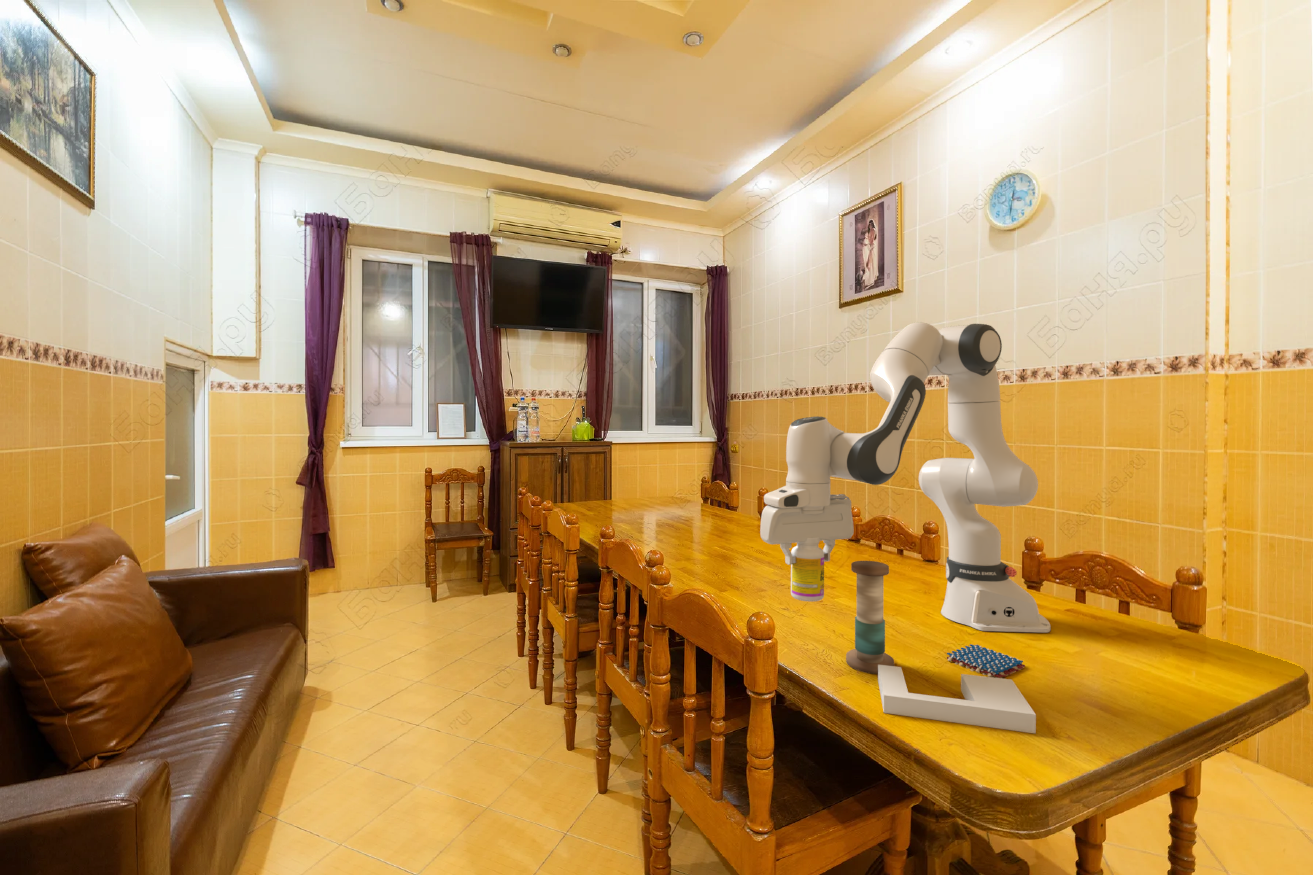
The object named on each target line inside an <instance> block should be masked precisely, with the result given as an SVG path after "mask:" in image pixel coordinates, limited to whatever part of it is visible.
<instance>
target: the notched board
mask: <svg viewBox="0 0 1313 875" xmlns="http://www.w3.org/2000/svg"><path fill="white" fill-rule="evenodd" d="M960 679H961V680H960V691H961V693H962V695H963V698H964V699H961V698H954V697H953V698H952V697H944V696H938V695H930V694H929V695H928V694H921V693H913V692H909V691H908V688H907V684H906V683H907V682H906V680H905V676H904V673H903V670H902V666H895V665H894V666H887V665H878V674H877V682H878V687H879V693H880V698H881V704H882V709H883V713H884V714H889V715H898V716H904V717H911V718H912V717H913V718H921V719H927V720H934V721H941V722H949V723H957V724H963V725H972V726H978V727H986V728H992V729H993V728H994V729H1000V730H1007V731H1008V730H1009V731H1013V732H1014V731H1016V732H1022V733H1028V734H1037V733H1036V730H1037V726H1036V724H1037V714H1036V713H1035V711H1034V709H1033V708H1032V707H1031V706H1030V704H1029V703H1028V701H1027V699H1026V698H1025V697H1024V695H1023V694H1022V693H1021V691H1020V689H1019V688H1018V686H1017V685H1016V683H1015V682H1014V681H1013V679H1010V678H1008V679H1007V678H996V677H988V676H985V675H982V676H981V675H976V674H975V675H973V674H966V673H960Z"/></svg>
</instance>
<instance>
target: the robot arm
mask: <svg viewBox="0 0 1313 875" xmlns="http://www.w3.org/2000/svg"><path fill="white" fill-rule="evenodd" d="M1002 347H1003V345H1002V339H1001V336H1000V334H999V333H998V331H997V330H996V329H995V328H994V327H993V326H992V325H989V324H987V323H986V324H985V323H969V324H967V325H965V324H964V325H959V324H958V325H951V326H945V327H942V328H936V327H935V326H933V325H932V324H930V323H927V322H922V321H920V322H919V321H916V322H912V323H909V324H908V325H906V326H905V327H904V328H903V327H902V329H901V330H900V331H898V333H897V334H896V335H895V336H894V337H892V339H891V340H890V341H889V342H888V343H887V345H886V346H885V348H884V349H883V350H882V351H881V353H880V354H879V355H878V357H877V358H876V360H875V362H874V363H873V365H872V367H871V370H870V372H869V382H870V384H871V386H872V389H873V390H874V391H875V392H876V393H877V395H878V396H879V397H881V399H883V400H884V401H885V402H888V405H887V408H886V410H885V412H884V414H883V415H882V418H881V420H880V421H879V424H878V426H877V427H876V428H874V429H872V430H870V431H867V432H864V433H863V432H862V433H858V432H857V433H855V432H853V433H852V432H845V431H844V430H841V429H839V428H837V427H836V426H834V425H833V424H831V423H830V422H829V421H828V418H826V417H824V416H810V417H802V418H798V419H796V420H794V421H793V422H791V424H790V425H789V427H788V431H787V435H786V436H787V437H786V447H785V450H786V451H785V455H786V456H785V461H786V464H787V465H786V466H787V474H786V478H785V485H784V486H782V487H778V489H775V490H772V491H770V492H767V493H765V494H764V495H763V502H764V504H765V505H766V506H764V507H763V510H762V512H761V516H760V518H761V519H760V528H759V529H760V531H759V533H760V538H761V540H762V541H763V542H765V543H767V544H768V545H780V546H779V547H780V549H781V550H782V553H783V554H784V558H785V559H784V561H785V564H787V565H789V566H791V564H796V561H795V560H796V556H795V555H792V554H791V550H790V549H791V548H792V544H797V542H806V541H807V538H815V537H818V538H819V541H820V542H822V541H823V543H824V547H823V549H822V550H823V552H824V563H825V562H830V561H831V552H832V551H833V549H834V548H835V545H836V540H844V539H845V540H847V539H848V540H849V539H851V538H852V536H853V535H854V531H855V530H854V519H853V513H852V500H851V498H850V497H848V496H847V495H846V494H844V493H839V494H832V493H831V477H832V478H839V479H840V478H841V479H842V480H843V479H844V480H850V481H857V482H861V483H865V484H869V485H873V486H879V485H882V484H885V483H887V482H888V481H889V480H890V479H892V477H894V475H895V474H896V472H897V470H898V468H899V466H900V461H901V459H902V454H903V450H904V447H905V444H906V443H907V440H908V437H909V436H910V433H911V431H912V429H913V427H914V426H915V425H914V424H915V423H916V420H917V418H918V416H919V414H920V412H921V410H922V407H923V405H924V401H925V399H926V394H927V393H926V391H927V390H926V386H925V381H926V380H927V378H928V376H947V377H948V386H947V429H948V432H949V435H950V436H951V437H952V438H953V439H954V441H956V442H959V443H960V444H962V445H964V446H967V448H969V450H970V451H971V452H972V454H973V457H974V458H964V457H963V458H962V457H961V458H960V457H941V458H936V459H929V460H927V461H926V462H925V463H924V464H923V465H922V466H921V468H920V470H919V473H918V485H919V487H920V489H921V491H922V492H923V494H924V495H925V496H926V497H927V498H929V499H930V501H932V502H933V503H934V504H935V506H936V507H937V508H938V509H939V510H940V512H941V514H942V516H943V519H944V521H945V526H946V530H947V538H948V540H947V541H948V556H947V557H946V563H945V578H946V580H947V584H946V590H945V596H944V599H943V605H942V607H941V611H940V614H941V615H942V616H943V617H944V618H946V619H948V620H950V621H952V622H956V623H959V624H962V625H966V626H968V627H972V628H973V629H976V630H979V631H982V632H1006V633H1007V632H1008V633H1009V632H1014V633H1042V634H1043V633H1050V632H1051V630H1052V629H1051V627H1052V626H1051V624H1050V622H1049V620H1048V619H1047V618H1046V617H1044V616H1043V615H1042V614H1040V613H1039V608H1038V605H1037V601H1036V600H1035V598H1034V597H1033V596H1032V595H1031V594H1030V593H1029V592H1027V590H1026V589H1024V588H1022V586H1020V585H1019V584H1018V583H1016V582H1015V581H1014V580H1012V579H1011V578H1015V577H1016V576H1017V575H1018V572H1017V570H1016V569H1015V568H1014V567H1013V566H1009V565H1008V564H1006V563H1004V562H1002V561H1001V556H1002V554H1001V550H1002V549H1001V547H1002V546H1001V545H1002V544H1001V542H1002V540H1001V539H1002V534H1001V532H1000V530H999V528H998V527H997V526H996V525H995V524H994V523H993V522H991V521H990V520H987V519H986V518H984V517H983V516H982V515H980V513H979V512H978V511H977V508H976V505H984V506H993V507H994V506H995V507H1002V508H1003V507H1004V508H1005V507H1017V506H1026V505H1028V504H1029V503H1031V501H1033V500H1034V498H1035V497H1036V495H1037V492H1038V489H1039V480H1038V477H1037V475H1036V472H1035V471H1034V469H1032V467H1031V466H1030V465H1029V464H1027V463H1025V462H1024V461H1023V460H1021V459H1020V458H1019V457H1018V456H1017V455H1016V454H1015V453H1014V452H1013V451H1012V449H1011V448H1010V446H1009V445H1008V443H1007V441H1006V439H1005V436H1004V432H1003V427H1002V426H1003V424H1002V414H1001V413H1002V412H1001V411H1002V409H1001V391H1000V390H1001V388H1000V380H999V376H998V370H997V367H996V364H997V363H998V361H999V359H1000V358H1001V352H1002ZM1010 577H1011V578H1010Z"/></svg>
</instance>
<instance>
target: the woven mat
mask: <svg viewBox="0 0 1313 875" xmlns="http://www.w3.org/2000/svg"><path fill="white" fill-rule="evenodd" d="M955 650H956V651H954V650H951V653H950V652H946V654H947V657H946V660H947V661H948V662H949V661H950V662H949V663H954V664H955V665H959V666H960V667H966V668H965V669H969V671H971V672H974V671H975V672H976V673H978V674H982V676H986V675H987V676H986V677H993V678H1002V679H1004V678H1006V677H1007V676H1010V675H1012V674H1014V673H1016V672H1020V670H1022V669H1024V668H1025V667H1026V665H1025V664H1023V663H1024V660H1020V659H1018V658H1017V657H1014V656H1013V657H1012V656H1009V655H1008V654H1004V653H1001V652H997V650H996V651H995V650H993V649H989V648H987V647H983V646H982V645H979V644H975V645H974V644H973V643H972V644H969V646H968V645H965V647H960V649H955ZM951 661H952V662H951Z"/></svg>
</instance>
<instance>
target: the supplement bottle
mask: <svg viewBox="0 0 1313 875" xmlns="http://www.w3.org/2000/svg"><path fill="white" fill-rule="evenodd" d="M820 542H821V541H819V538H818V537H815V538H807V541H806V542H797V543H796V546H794V547H792V549H791V550H790V552H791V554H792V555H795V556H796V560H795V561H796V564H791V565H790V595H791V597H792V598H793V599H795V600H798V601H802V602H819V601H822V600H823V599H824V597H825V562H824V552H823V549H822V548H821V547H819V544H820Z"/></svg>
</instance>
